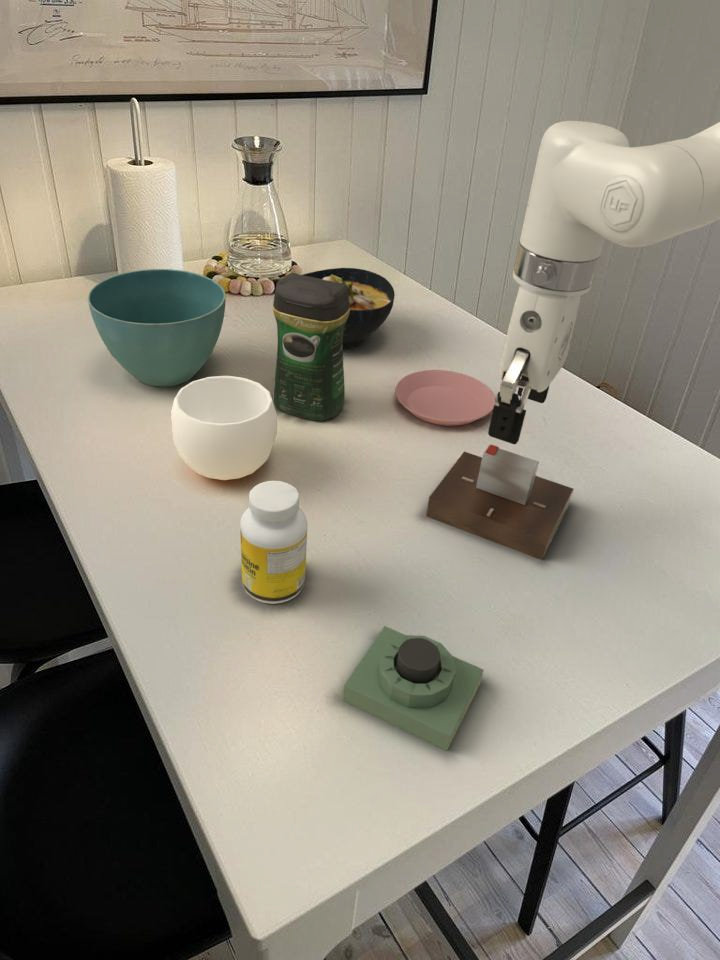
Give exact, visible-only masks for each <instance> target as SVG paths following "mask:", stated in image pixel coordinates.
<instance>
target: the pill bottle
mask: <svg viewBox="0 0 720 960" xmlns="http://www.w3.org/2000/svg"><path fill="white" fill-rule="evenodd" d="M239 525H240V526H239V527H240V528H239V530H240V531H239V532H240V534H239V535H240V556H241V557H240V558H241V559H240V560H241V561H240V562H241V564H240V565H241V583H242V587H243V589H244V591H245V592H246V594H248V596H249V597H251V598H252V599H254V600H255V601H258V602H260V603H262V604H263V603H264V604H270V605H273V604H276V605H277V604H282V603H285V602H288V601H291V600H293V599H294V598H296V597H297V596H298V595H299V594H300V593H301V591H302V590H303V588H304V586H305V583H306V570H307V569H306V567H307V563H306V562H307V545H308V519H307V516H306V514H305V512H304V511H303V509H301V507H300V494H299V491H298V489H296V487H295V486H294V485H292V484H290V483H288V482H284V481H280V480H267V481H263V482H260V483H258V484H256V485H255V486H253V487H252V489H251V490H250V492H249V494H248V508H247V509H245V511H244V512H243V514H242V516H241V518H240V524H239Z"/></svg>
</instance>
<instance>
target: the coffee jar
mask: <svg viewBox="0 0 720 960" xmlns="http://www.w3.org/2000/svg"><path fill="white" fill-rule="evenodd" d="M272 312H273V315H274V318H275V322H276V328H277V329H276V330H277V350H276V361H275V362H276V363H275V373H274V381H273V394H272V397H273V398H272V400H273V404H274V407H275V408H276V409H277V410H278V411H281V412H282V413H286V414H288V415H291V416H294V417H299V418H301V419H302V418H303V419H308V420H312V421H321V422H322V421H326V420H328V419H332V418H333V417H335V416H336V415H338V414H339V413H340V412H341V410H342V409H343V406H344V405H345V398H346V397H345V395H346V394H345V393H346V390H345V370H344V349H343V330H344V325H345V323H346V321H347V319H348V316H349V312H350V303H349V292H348V287H347V285H346V284H345V283H338V282H332V281H327V280H323V279H318V278H313V277H308V276H303V274H299V273H296V272H295V271H291V272H289V273H287V274H286V275H284V276H283V277H282V278H280V279H279V280H278V281H277V283H276V285H275V289H274V296H273V303H272Z"/></svg>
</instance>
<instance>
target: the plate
mask: <svg viewBox="0 0 720 960" xmlns="http://www.w3.org/2000/svg"><path fill="white" fill-rule="evenodd" d="M394 388H395V389H394V392H395V393H394V394H395V396H396V399H397V400H398V402H399V403H400V404H401V405H402V406H403V407H404V408H405V409H406V410H408V411H409V412H410V413H411V414H412V415H413V416H415V417H416V418H418V419H420V420H422V421H424V422H426V423H429V424H433V425H437V426H442V427H443V426H444V427H458V426H464V425H465V426H466V425H468V424H471V423H472V422H475V421H477V420H479V419H482V418H485V417H486V416H487V415H489V414H490V413H492V412H493V408H494V404H495V400H496V396H495V394H494V393H493V391H492V390H491V388H490V387H488V386H487V385H486V384H485V383H483V382H482V381H480V380H478V379H477V378H475V377H473V376H470V375H467V374H464V373H461V372H457V371H452V370H445V369H428V370H427V369H426V370H420V371H416V372H412V373H410V374H407V375H405V376H404V377H402V378H401V379H400V380H399V381H398V382H397V383H396V386H395V387H394Z"/></svg>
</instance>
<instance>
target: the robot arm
mask: <svg viewBox="0 0 720 960" xmlns="http://www.w3.org/2000/svg"><path fill="white" fill-rule="evenodd" d="M719 220H720V121H718V122H717V123H715V124H713V125H711V126H709V127H707V128H706V129H703V130H702V131H700V132H697V133H696V134H693V135H691V136H689V137H687V138H680V139H675V140H669V141H665V142H660V143H655V144H651V145H642V146H633V147H632V146H631V147H630V143H629V139H628V137H627V136H626V135H625V133H624V132H622V131H621V130H619V129H617V128H615V127H612V126H609V125H606V124H601V123H597V122H592V121H583V120H564V121H559V122H556V123H554V124H552V125H550V126H549V127H548V128H547V129H546V130H545V132H544V134H543V136H542V138H541V141H540V145H539V148H538V153H537V158H536V162H535V168H534V173H533V177H532V181H531V186H530V190H529V195H528V199H527V205H526V210H525V214H524V219H523V223H522V228H521V234H520V238H519V242H518V247H517V252H516V256H515V261H514V266H513V269H512V270H513V271H512V278H513V280H514V281H515V282H516V283H517V284H518V285H519V288H518V291H517V294H516V298H515V302H514V304H513V309H512V312H511V317H510V321H509V325H508V328H507V331H506V332H507V333H506V336H505V340H504V345H503V348H502V353H501V359H500V364H499V369H498V376H499V379H500V380H501V382H500V385H499V386H500V387H499V390H498V392H497V394H496V397H495V404H494V408H493V410H492V412H491V413H492V414H491V418H490V423H489V427H488V431H487V434H488V436H489V437H490V438H491V437H492V438H494V439H497V440H500V441H503V442H505V443H508V444H512V445H517V444H518V443H519V441H520V437H521V433H522V429H523V426H524V423H525V422H524V421H525V417H526V413H527V409H525V406H526V403H527V401H528V400H530V401H533V402H536V403H539V404H544V403H545V402H546V400H547V397H548V394H549V390H550V385H551V384H552V382H553V381H554V379H555V378H556V377H557V375H558V374H559V372H560V371H561V369H562V368H563V366H564V364H565V362H566V360H567V358H568V355H569V351H570V348H571V343H572V339H573V334H574V331H575V325H576V321H577V317H578V314H579V310H580V309H579V308H580V304H581V299H582V296H583V295H586V294H588V293H590V291H591V289H592V285H593V282H594V279H595V275H596V271H597V268H598V265H599V262H600V257H601V254H602V250H603V247H604V244H605V241H606V240H607V241H608V242H611V243H613V244H615V245H618V246H621V247H624V248H632V249H637V248H644V247H645V248H646V247H650V246H652V245H654V244H658V243H660V242H664V241H666V240H670V239H673V238H674V237H676V236H679V235H682V234H684V233H687V232H691V231H695V230H698V229H700V228H703V227H706V226H708V225H710V224H713V223H715V222H718V221H719ZM517 388H518V389H517ZM516 392H517V393H516Z"/></svg>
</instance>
